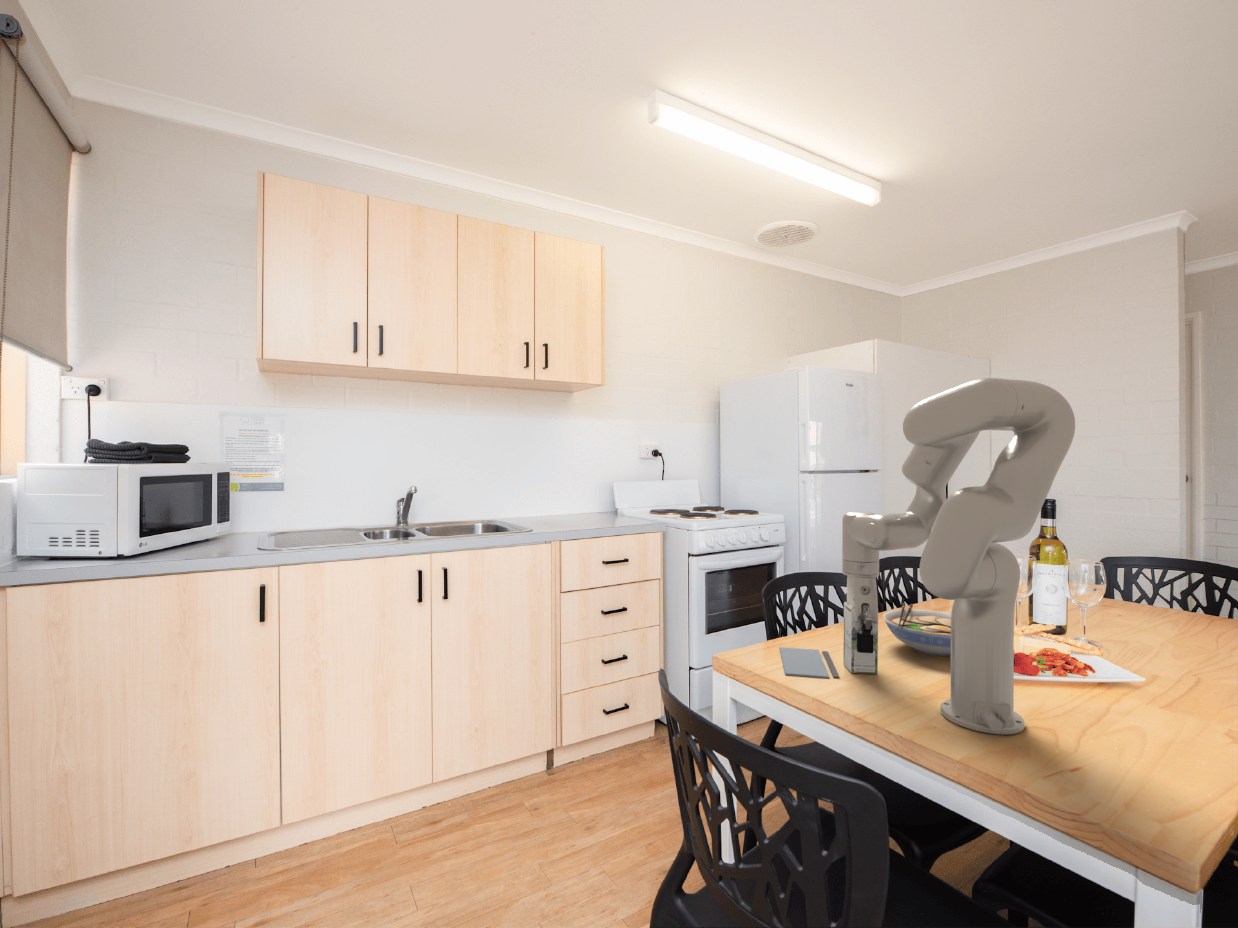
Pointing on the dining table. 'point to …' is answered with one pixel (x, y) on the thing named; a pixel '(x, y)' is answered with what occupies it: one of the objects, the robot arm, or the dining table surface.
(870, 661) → the syrup box
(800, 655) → the mat
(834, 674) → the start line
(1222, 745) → the dining table surface
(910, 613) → the ramen bowl
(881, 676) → the dining table surface
